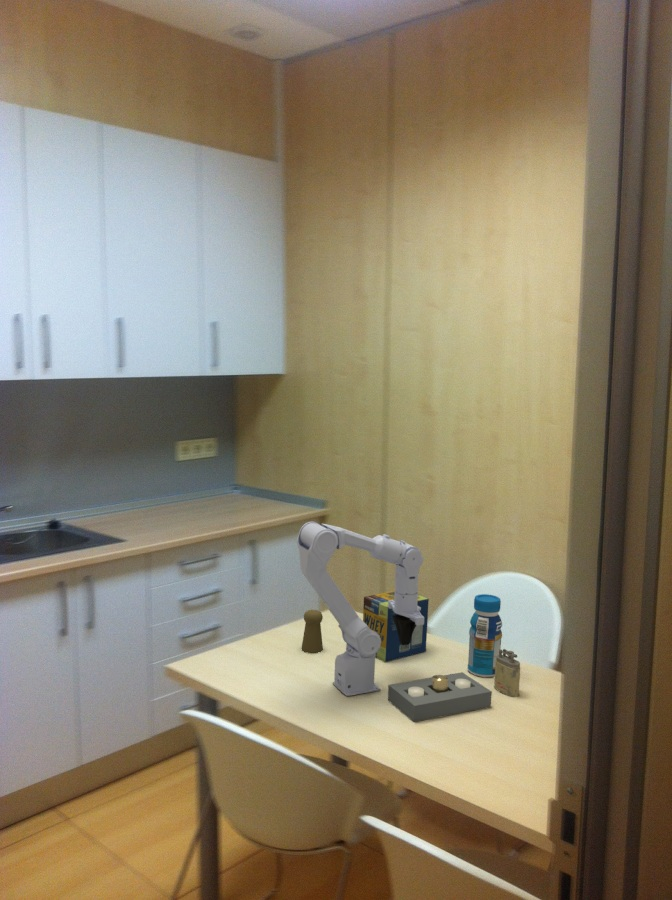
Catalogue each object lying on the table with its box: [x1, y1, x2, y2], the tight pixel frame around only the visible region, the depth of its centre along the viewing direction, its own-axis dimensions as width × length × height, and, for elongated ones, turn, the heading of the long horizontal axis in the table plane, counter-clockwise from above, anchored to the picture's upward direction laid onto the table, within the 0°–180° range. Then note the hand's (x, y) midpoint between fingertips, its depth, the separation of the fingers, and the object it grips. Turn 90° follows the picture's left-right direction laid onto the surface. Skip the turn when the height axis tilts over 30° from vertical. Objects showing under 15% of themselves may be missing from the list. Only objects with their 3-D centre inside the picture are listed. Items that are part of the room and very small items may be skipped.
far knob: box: [455, 679, 471, 689], centre depth 181 cm, size 4×4×4 cm
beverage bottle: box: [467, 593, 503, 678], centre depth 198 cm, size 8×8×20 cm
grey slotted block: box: [387, 672, 493, 723], centre depth 179 cm, size 21×12×4 cm, turn 115°
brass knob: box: [432, 674, 448, 693], centre depth 178 cm, size 4×4×4 cm
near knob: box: [408, 687, 425, 698], centre depth 176 cm, size 4×4×4 cm
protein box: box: [362, 590, 430, 663], centre depth 210 cm, size 10×15×16 cm
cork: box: [301, 609, 324, 654], centre depth 210 cm, size 6×6×11 cm
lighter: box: [493, 648, 521, 697], centre depth 187 cm, size 7×4×10 cm, turn 33°
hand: (404, 643), depth 191 cm, fingers closed
